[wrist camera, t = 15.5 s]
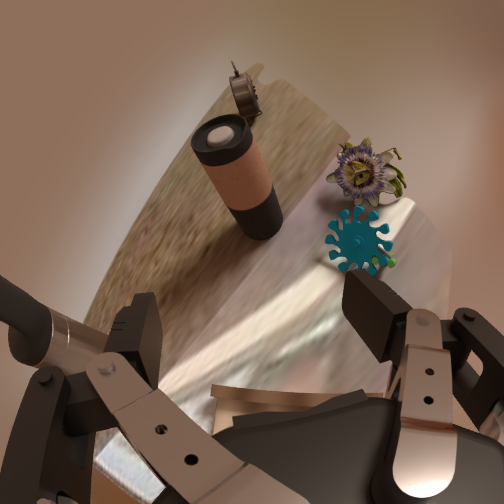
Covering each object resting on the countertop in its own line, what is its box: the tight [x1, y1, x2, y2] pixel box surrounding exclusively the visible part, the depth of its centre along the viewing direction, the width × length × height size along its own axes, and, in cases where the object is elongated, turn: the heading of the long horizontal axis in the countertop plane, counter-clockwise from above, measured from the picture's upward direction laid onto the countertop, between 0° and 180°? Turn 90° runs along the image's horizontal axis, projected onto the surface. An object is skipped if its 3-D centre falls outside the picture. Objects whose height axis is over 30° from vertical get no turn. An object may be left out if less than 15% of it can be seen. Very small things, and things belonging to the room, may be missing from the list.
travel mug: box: [191, 114, 283, 240], centre depth 42 cm, size 8×8×20 cm
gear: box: [325, 206, 396, 275], centre depth 40 cm, size 11×6×10 cm
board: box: [210, 384, 383, 435], centre depth 31 cm, size 21×10×4 cm, turn 83°
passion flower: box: [326, 137, 406, 207], centre depth 44 cm, size 11×11×12 cm
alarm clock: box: [229, 61, 262, 126], centre depth 60 cm, size 11×5×16 cm, turn 6°
